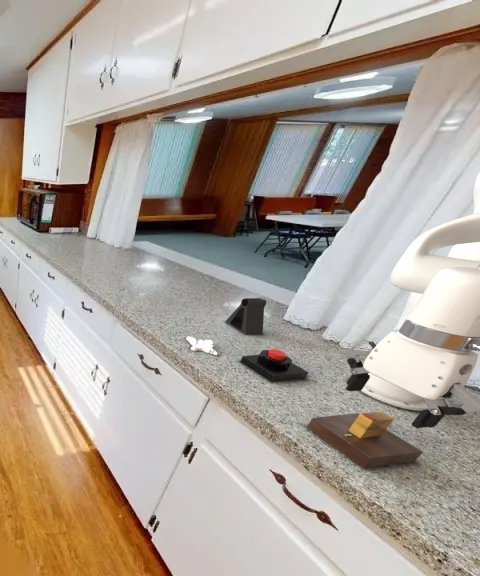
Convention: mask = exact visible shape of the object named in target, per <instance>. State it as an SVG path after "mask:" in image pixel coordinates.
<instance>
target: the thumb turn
mask: <svg viewBox="0 0 480 576" xmlns="http://www.w3.org/2000/svg"><path fill="white" fill-rule="evenodd" d="M359 414H360V415H359V416H358V417H357V419H356V420H355V422H354V423H353V425H352V426H351V427H350V429H349V430H348V431H349V432H351V433H352V434H354V435H356V436H357V437H359V438H368V437H377V436H382V434H383V433H384V432H385V431H386V430H388V428H389V427H390V426H391V424H392V423H393V421H394V420H395V418H394V417H392V416H390V415H389V414H387V413H385V412H383V411H374V412H363V413H359Z"/></svg>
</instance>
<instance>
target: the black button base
mask: <svg viewBox="0 0 480 576" xmlns="http://www.w3.org/2000/svg"><path fill="white" fill-rule="evenodd" d="M269 350H270V349H262V350H261V352H260V353H259V354H251V355H250V354H249V355H242V357H241V359H240V363H241V364H243V365H244V366H246V367H247V368H248V369H250V370H252V371H254V373H257V374H258V375H260V377H263V378H264V379H266V380H267V381H269V382H280V381H281V382H282V381H291V380H304V379H306V378H307V376H308V374H309V371H307V370H305V369H303V368H302V367H300V366H298V365H297V364H295V363H293V360H292V358H291V357H289V356H288V355H287V356H286V358H285V360H284V361H279V360H275V359H273V358H271V357H269V356H268V352H269Z"/></svg>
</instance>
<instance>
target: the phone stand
mask: <svg viewBox="0 0 480 576" xmlns="http://www.w3.org/2000/svg"><path fill="white" fill-rule="evenodd" d="M266 305H267V300H266V299H265V298H264V299H263V297H251V298H250V297H246V298H242V299H241V301H240V304H239V305H238V307H236V309H234V311H233V312H232V314H230V315H229V317H228V318H227V319H226V320H225V323H226V324H228V325H230V326H231V327H232V328H234V329H236V330H237V331H238V332H241V333H242V334H244V335H263V334H264V317H265V308H266Z"/></svg>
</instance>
